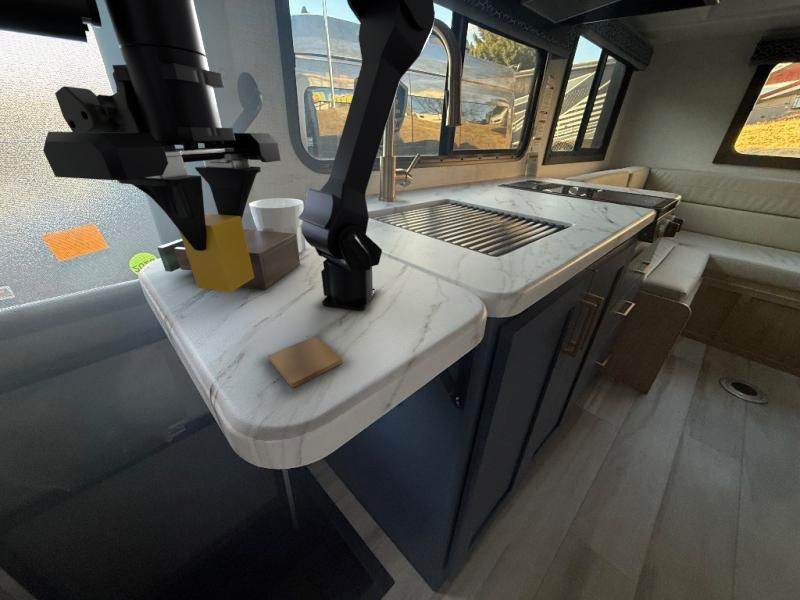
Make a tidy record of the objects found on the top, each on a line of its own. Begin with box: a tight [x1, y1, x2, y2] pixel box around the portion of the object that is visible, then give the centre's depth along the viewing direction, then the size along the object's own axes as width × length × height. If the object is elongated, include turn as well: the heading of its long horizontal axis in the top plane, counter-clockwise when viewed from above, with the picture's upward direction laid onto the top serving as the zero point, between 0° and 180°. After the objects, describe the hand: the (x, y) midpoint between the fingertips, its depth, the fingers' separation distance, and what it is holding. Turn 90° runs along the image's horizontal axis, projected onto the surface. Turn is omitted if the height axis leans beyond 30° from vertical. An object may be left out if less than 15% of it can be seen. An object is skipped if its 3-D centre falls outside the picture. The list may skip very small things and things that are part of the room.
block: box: [178, 213, 254, 293], centre depth 33 cm, size 4×4×7 cm
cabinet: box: [239, 228, 301, 291], centre depth 54 cm, size 12×11×6 cm
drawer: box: [156, 238, 193, 273], centre depth 55 cm, size 12×10×4 cm
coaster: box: [267, 336, 343, 389], centre depth 34 cm, size 6×6×1 cm
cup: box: [248, 197, 306, 254], centre depth 64 cm, size 10×10×10 cm
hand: (217, 243), depth 32 cm, fingers closed on block, 4 cm apart
